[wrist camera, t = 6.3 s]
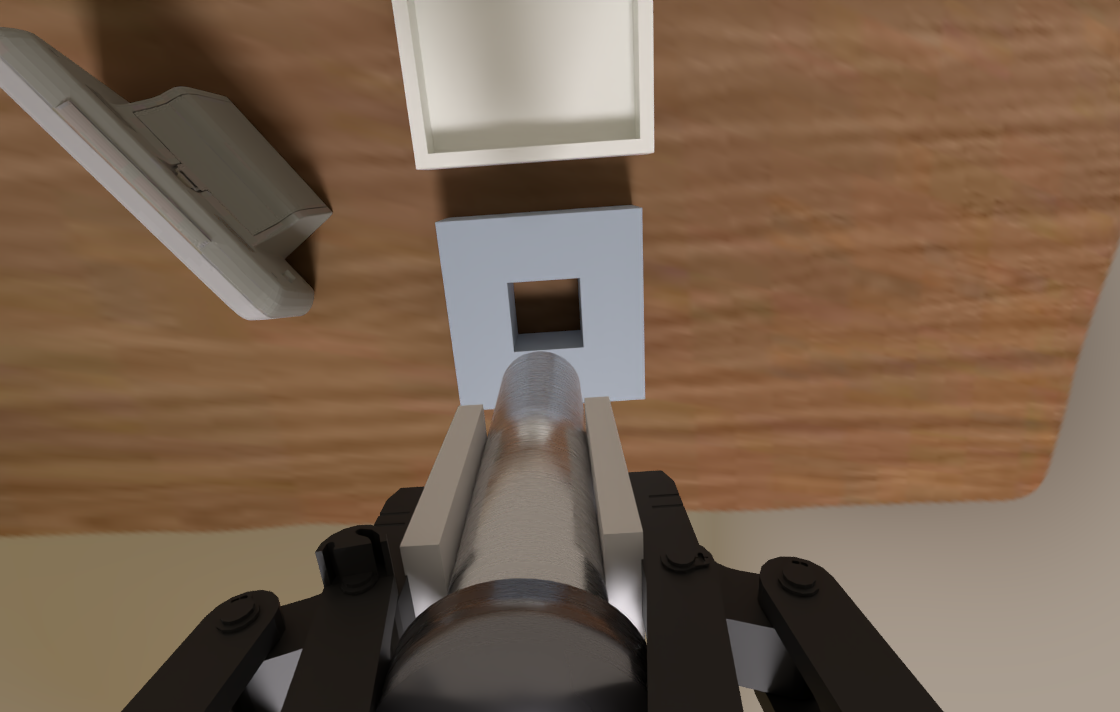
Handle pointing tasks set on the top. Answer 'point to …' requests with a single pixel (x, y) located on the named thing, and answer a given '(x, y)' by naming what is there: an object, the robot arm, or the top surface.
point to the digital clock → (179, 174)
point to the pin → (525, 576)
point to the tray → (526, 79)
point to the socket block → (534, 255)
